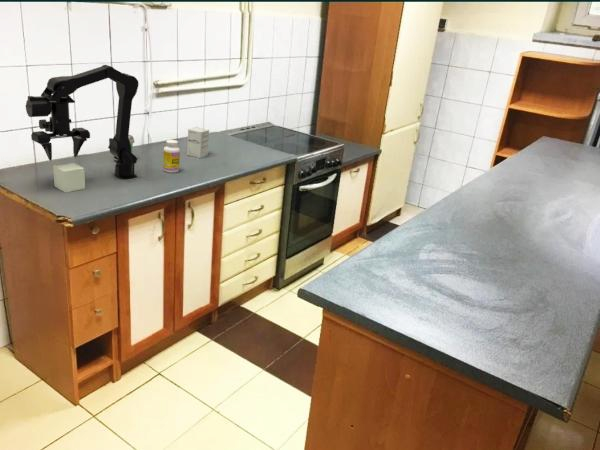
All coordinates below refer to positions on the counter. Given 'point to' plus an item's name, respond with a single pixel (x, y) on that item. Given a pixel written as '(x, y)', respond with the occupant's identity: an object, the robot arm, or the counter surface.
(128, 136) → the food container
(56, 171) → the sage green cuboid
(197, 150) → the supplement box
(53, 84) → the robot arm
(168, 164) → the supplement bottle
